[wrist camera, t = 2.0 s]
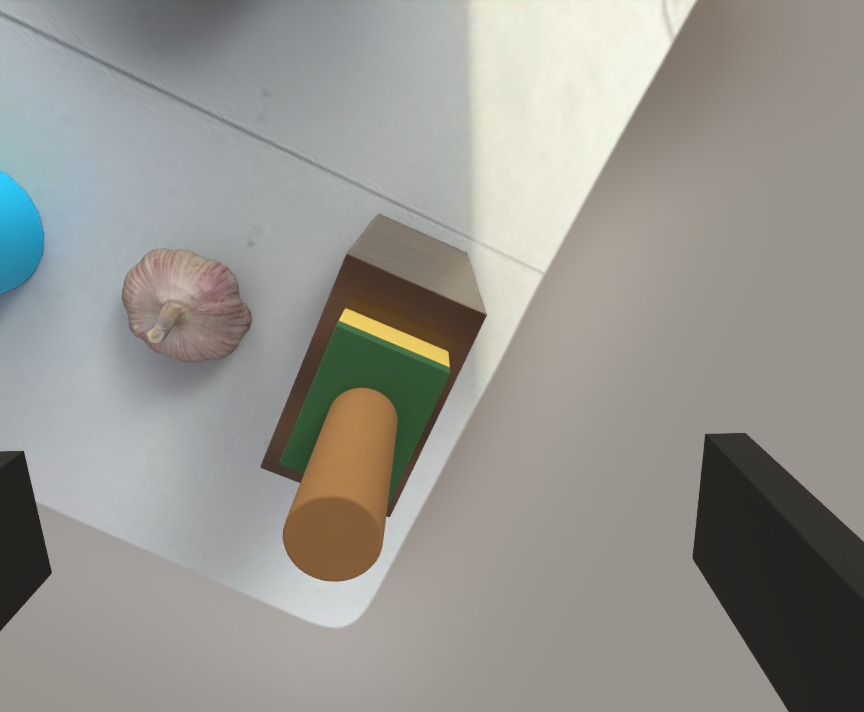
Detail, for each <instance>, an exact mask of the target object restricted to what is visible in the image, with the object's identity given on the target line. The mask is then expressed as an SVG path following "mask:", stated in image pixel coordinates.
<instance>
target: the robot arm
mask: <svg viewBox="0 0 864 712" xmlns="http://www.w3.org/2000/svg"><path fill="white" fill-rule="evenodd" d="M693 560H694V562H695V563H696V565H697V566H698V568H699V570H700V571H701V573H702V574H703V576H704V577H705V579H706V581H707V582H708V584H709V585H710V587H711V589H712V590H713V591H714V593H715V595H716V597H717V598H718V600H719V601H720V603H721V605H722V606H723V608H724V609H725V611H726V612H727V614H728V616H729V617H730V619H731V620H732V622H733V624H734V625H735V627H736V628H737V630H738V632H739V633H740V634H741V636H742V638H743V639H744V641H745V643H746V644H747V646H748V647H749V649H750V651H751V652H752V654H753V655H754V657H755V659H756V660H757V662H758V663H759V665H760V667H761V668H762V670H763V671H764V673H765V675H766V676H767V678H768V679H769V681H770V683H771V684H772V686H773V687H774V689H775V691H776V692H777V694H778V695H779V697H780V698H781V700H782V702H783V703H784V705H785V706H786V708H787V710H788V711H789V712H864V542H863V541H862V540H861V539H860V538H859V537H858V536H857V535H856V534H855V533H853V532H852V531H851V530H850V529H849V528H848V527H847V526H846V525H845V524H844V523H843V522H841V521H840V520H839V519H838V518H837V517H836V516H835V515H834V514H833V513H832V512H831V511H830V510H828V509H827V508H826V507H825V506H824V505H823V504H822V503H821V502H820V501H819V500H818V499H816V498H815V497H814V496H813V495H812V494H811V493H810V492H809V491H808V490H807V489H806V488H805V487H804V486H802V485H801V484H800V483H799V482H798V481H797V480H796V479H795V478H793V476H792V475H791V474H789V473H788V472H787V471H786V470H785V469H784V468H783V467H782V466H781V465H780V464H779V463H777V462H776V461H775V460H774V459H773V458H772V457H771V456H770V455H769V454H768V453H767V452H766V451H764V450H763V449H762V448H761V447H760V446H759V445H758V444H757V443H756V442H754V440H753V439H751V438H750V437H749V436H748V435H747V434H746V433H730V434H728V433H727V434H705V442H704V452H703V461H702V472H701V481H700V491H699V500H698V510H697V520H696V530H695V540H694V549H693ZM51 573H52V571H51V567H50V563H49V559H48V554H47V550H46V546H45V541H44V537H43V532H42V528H41V524H40V519H39V515H38V511H37V506H36V502H35V498H34V493H33V489H32V485H31V480H30V476H29V472H28V467H27V463H26V459H25V454H24V451H1V452H0V631H1V630H2V629H3V627H4V626H5V625H6V624H7V623H8V622H9V621H10V620H11V618H12V617H13V616H14V615H15V614H16V613H17V612H18V611H19V610H20V608H21V607H22V606H23V605H24V604H25V603H26V602H27V601H28V599H29V598H30V597H31V596H32V595H33V594H34V593H35V592H36V590H37V589H38V588H39V587H40V586H41V585H42V584H43V583H44V581H45V580H46V579H47V578H48V577H49V576H50V575H51Z"/></svg>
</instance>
